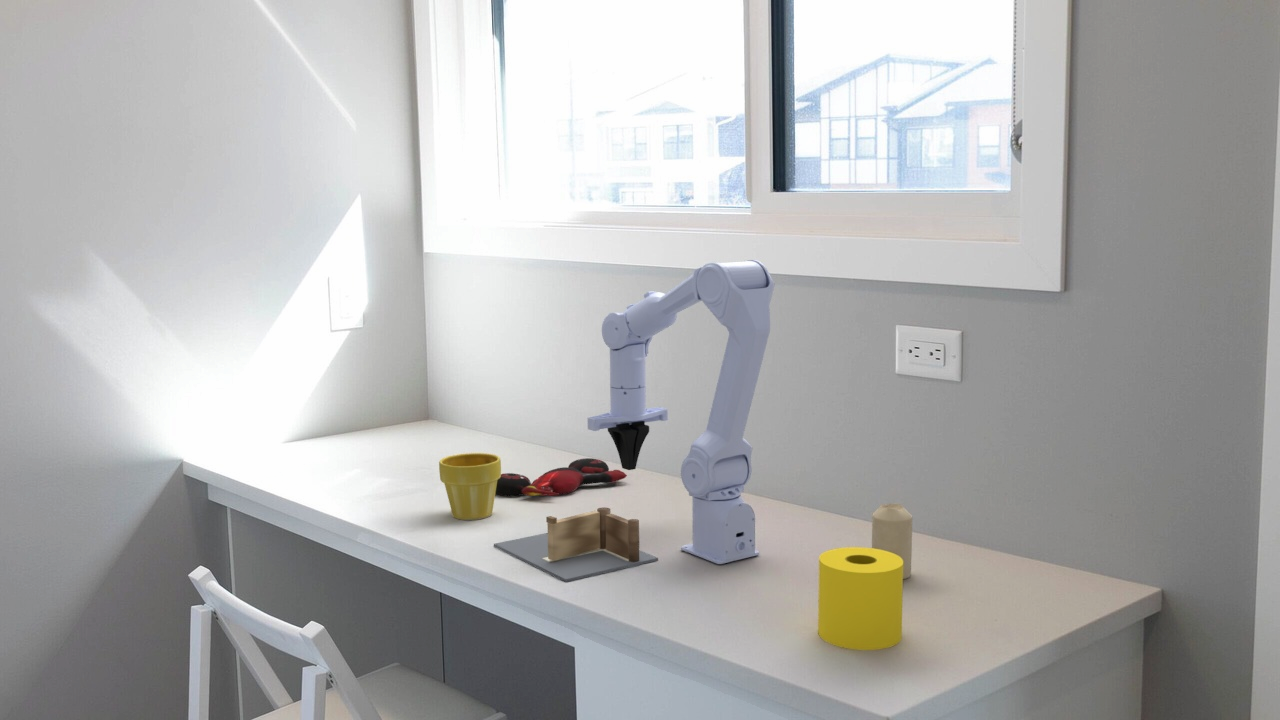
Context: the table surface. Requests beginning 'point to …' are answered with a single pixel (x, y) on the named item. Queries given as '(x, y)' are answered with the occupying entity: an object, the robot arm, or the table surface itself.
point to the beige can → (893, 533)
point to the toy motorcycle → (559, 479)
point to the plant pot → (470, 483)
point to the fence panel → (573, 534)
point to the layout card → (568, 558)
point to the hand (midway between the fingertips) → (628, 468)
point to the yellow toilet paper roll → (860, 598)
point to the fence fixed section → (619, 535)
